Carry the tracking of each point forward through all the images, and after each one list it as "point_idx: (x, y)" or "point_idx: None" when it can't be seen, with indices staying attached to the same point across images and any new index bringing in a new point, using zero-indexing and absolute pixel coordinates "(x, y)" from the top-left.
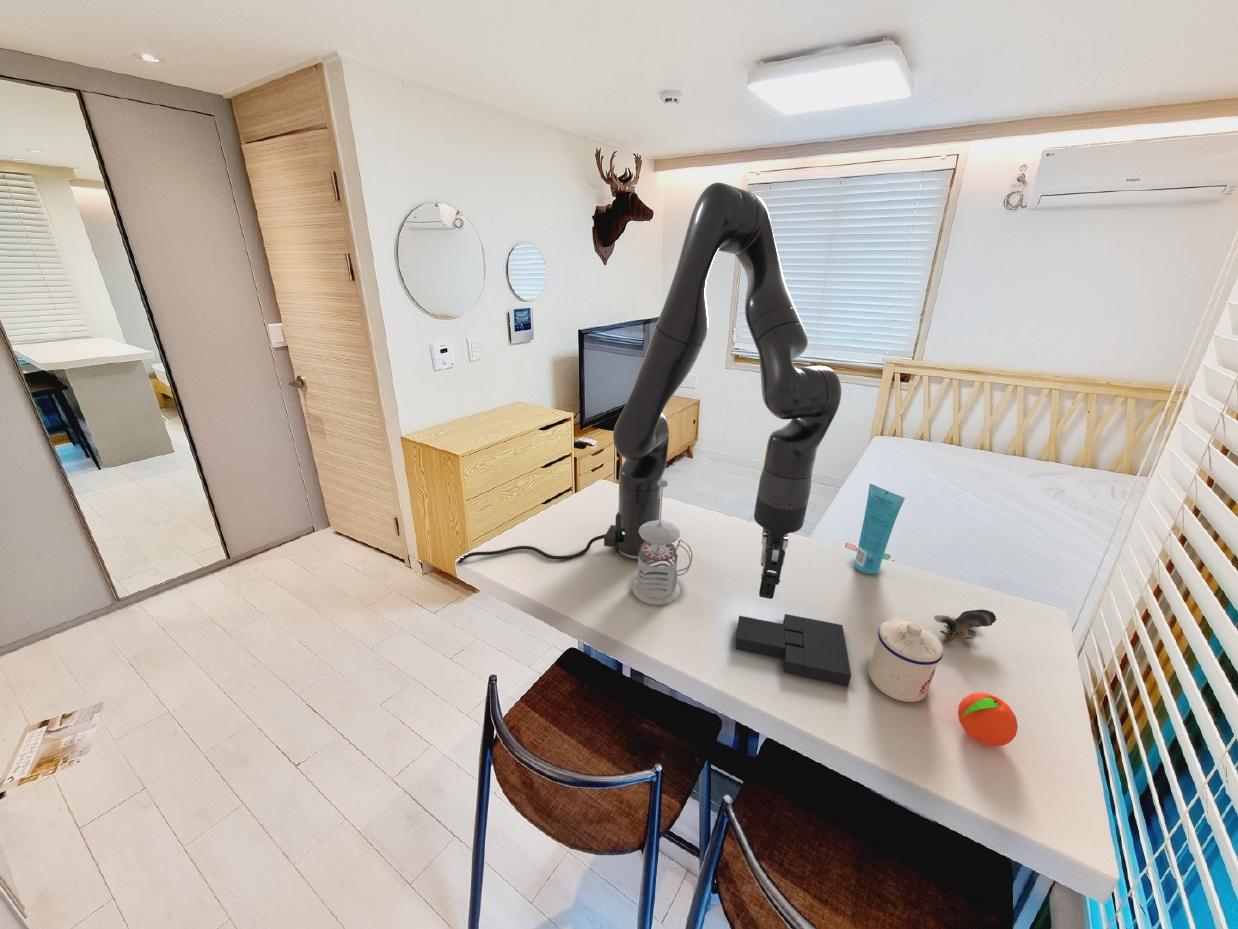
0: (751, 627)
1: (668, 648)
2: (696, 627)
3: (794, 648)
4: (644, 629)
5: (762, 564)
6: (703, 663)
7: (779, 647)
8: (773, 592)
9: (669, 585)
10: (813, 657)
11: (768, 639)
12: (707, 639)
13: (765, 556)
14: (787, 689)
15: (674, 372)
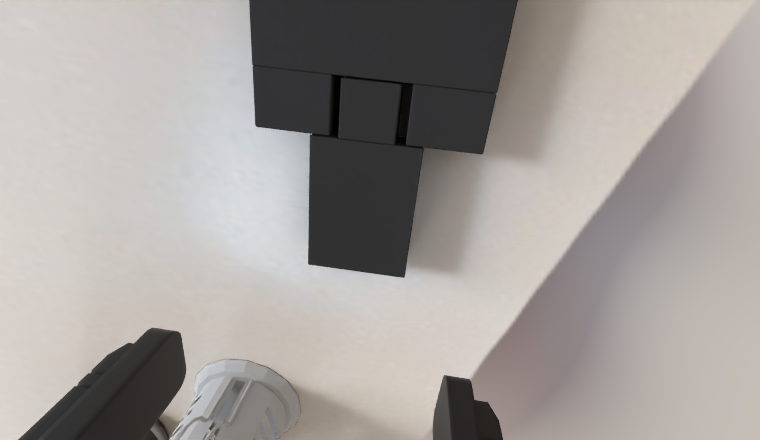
0: (351, 237)
1: (427, 382)
2: (349, 332)
3: (420, 118)
4: (380, 418)
5: (177, 383)
6: (463, 324)
7: (420, 165)
8: (474, 417)
9: (254, 415)
10: (455, 55)
11: (393, 195)
12: (384, 313)
13: (135, 431)
14: (536, 141)
15: None
